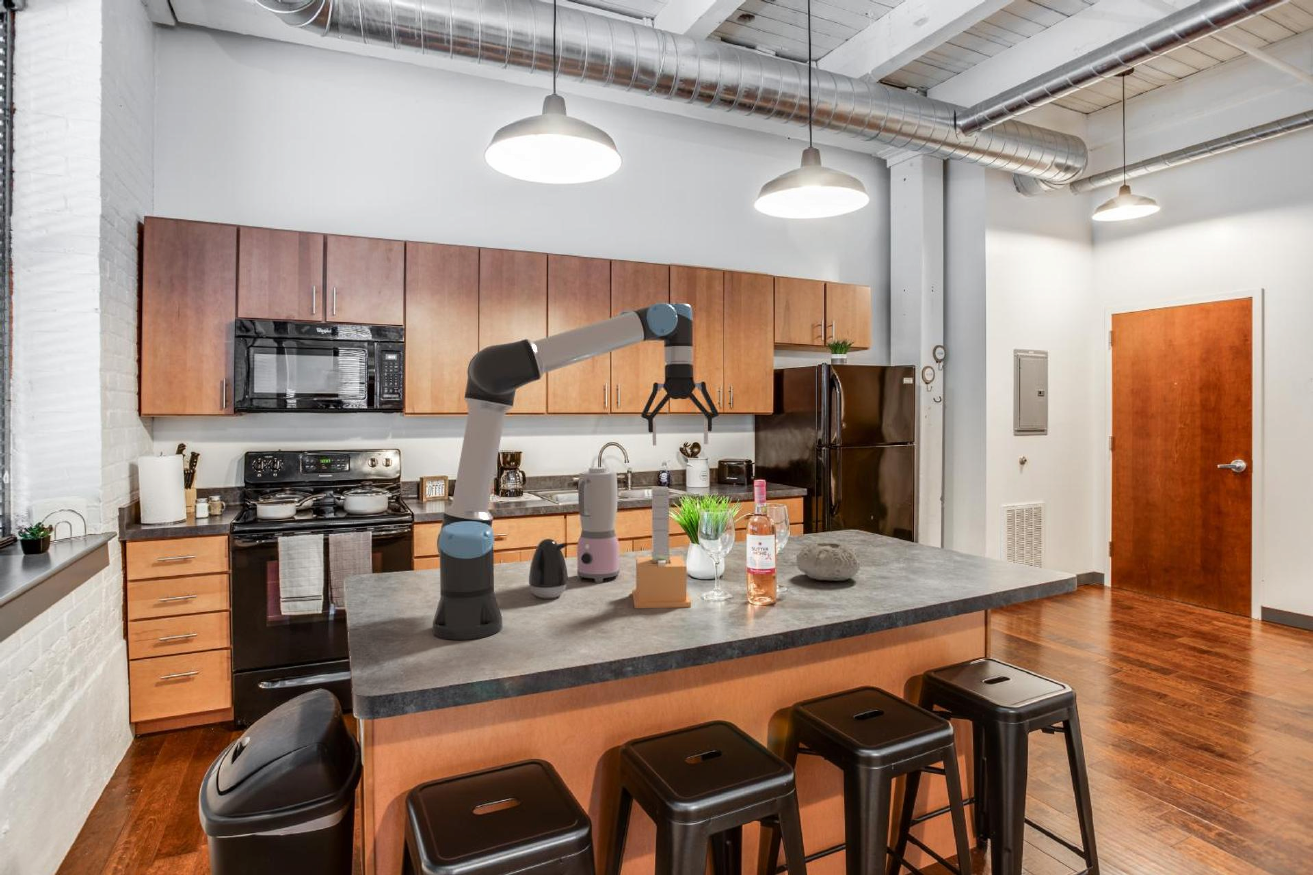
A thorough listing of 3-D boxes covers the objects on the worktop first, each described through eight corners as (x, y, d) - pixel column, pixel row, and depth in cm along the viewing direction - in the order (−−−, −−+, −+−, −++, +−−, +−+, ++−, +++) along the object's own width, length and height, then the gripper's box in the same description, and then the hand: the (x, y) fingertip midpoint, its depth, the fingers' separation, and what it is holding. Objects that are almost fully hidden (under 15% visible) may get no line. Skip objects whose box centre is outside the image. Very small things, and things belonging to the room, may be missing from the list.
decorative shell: (863, 587, 198) (863, 551, 198) (797, 585, 201) (797, 549, 200) (855, 572, 216) (856, 539, 215) (795, 570, 218) (795, 537, 218)
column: (670, 573, 182) (670, 489, 181) (652, 574, 182) (652, 489, 181) (668, 568, 188) (668, 486, 187) (651, 568, 188) (651, 486, 187)
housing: (690, 606, 179) (690, 563, 179) (634, 608, 178) (634, 564, 178) (684, 592, 193) (684, 551, 193) (632, 593, 192) (632, 552, 192)
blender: (592, 570, 218) (591, 465, 217) (627, 575, 212) (627, 467, 211) (562, 582, 204) (561, 469, 203) (598, 587, 198) (598, 471, 197)
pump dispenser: (561, 602, 183) (560, 543, 183) (522, 600, 186) (522, 541, 185) (573, 592, 193) (573, 536, 193) (537, 590, 195) (536, 534, 195)
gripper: (724, 363, 193) (725, 442, 194) (630, 365, 191) (632, 444, 193) (728, 362, 185) (729, 444, 187) (631, 363, 184) (633, 446, 185)
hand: (680, 444), depth 190 cm, fingers open, 13 cm apart
